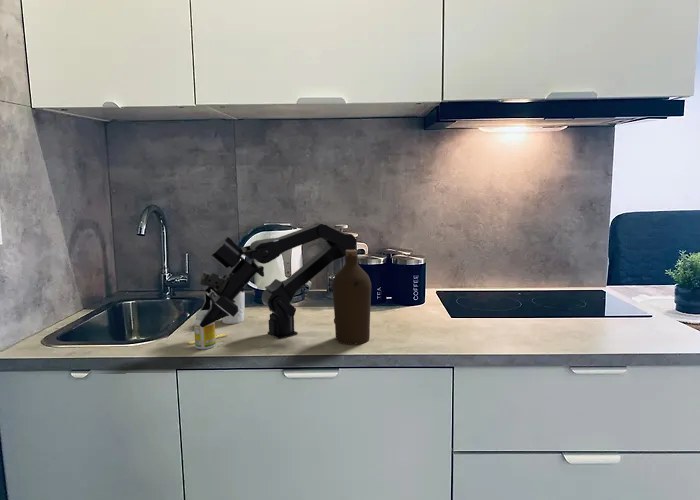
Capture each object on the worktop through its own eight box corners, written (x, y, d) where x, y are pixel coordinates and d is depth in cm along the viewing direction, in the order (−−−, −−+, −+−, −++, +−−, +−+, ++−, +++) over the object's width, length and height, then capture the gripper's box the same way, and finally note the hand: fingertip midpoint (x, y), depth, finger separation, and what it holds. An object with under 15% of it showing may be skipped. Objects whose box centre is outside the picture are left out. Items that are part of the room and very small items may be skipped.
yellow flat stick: (224, 334, 153) (224, 333, 153) (227, 335, 152) (227, 334, 152) (187, 343, 146) (187, 342, 146) (190, 344, 145) (190, 343, 145)
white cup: (235, 316, 172) (233, 285, 170) (251, 320, 167) (249, 289, 166) (215, 321, 166) (213, 290, 164) (230, 326, 161) (229, 294, 160)
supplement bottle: (192, 349, 141) (190, 314, 139) (198, 343, 146) (196, 309, 144) (213, 349, 141) (210, 314, 139) (218, 343, 146) (216, 309, 144)
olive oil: (379, 339, 147) (379, 250, 143) (351, 348, 140) (350, 255, 136) (353, 330, 155) (352, 246, 151) (325, 339, 148) (323, 250, 144)
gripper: (208, 254, 150) (170, 297, 147) (223, 265, 133) (180, 314, 130) (238, 279, 154) (201, 321, 151) (255, 292, 137) (214, 340, 135)
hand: (198, 323), depth 142 cm, fingers closed on supplement bottle, 5 cm apart
